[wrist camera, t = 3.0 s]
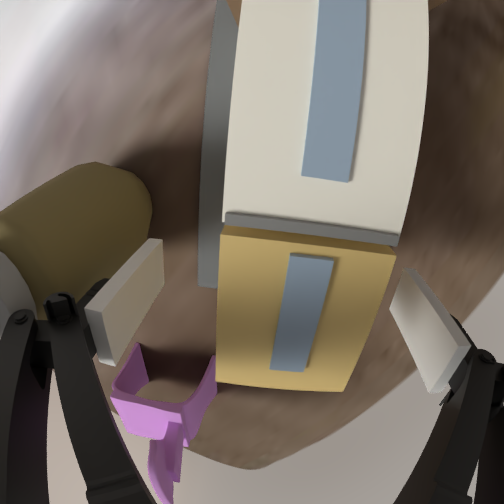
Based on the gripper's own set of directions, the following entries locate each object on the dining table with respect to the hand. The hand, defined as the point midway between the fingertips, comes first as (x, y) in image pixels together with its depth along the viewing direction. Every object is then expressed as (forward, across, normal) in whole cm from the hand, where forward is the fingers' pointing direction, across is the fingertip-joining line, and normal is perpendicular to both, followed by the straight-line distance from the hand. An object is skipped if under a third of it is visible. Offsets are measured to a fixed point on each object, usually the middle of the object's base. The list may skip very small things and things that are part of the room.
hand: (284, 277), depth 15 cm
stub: (+6, 0, +2) cm, 6 cm away
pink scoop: (+7, -9, -16) cm, 20 cm away
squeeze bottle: (+7, -12, +1) cm, 14 cm away
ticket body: (+6, 0, +11) cm, 12 cm away
